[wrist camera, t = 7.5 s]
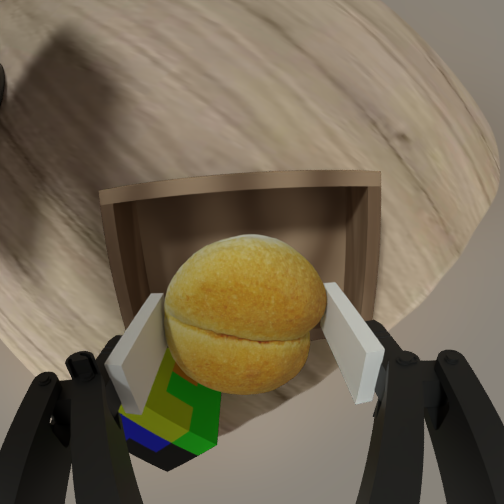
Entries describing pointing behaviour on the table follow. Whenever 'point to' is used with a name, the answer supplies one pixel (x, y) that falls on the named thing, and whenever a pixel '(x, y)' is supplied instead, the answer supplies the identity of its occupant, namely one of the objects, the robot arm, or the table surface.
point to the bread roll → (243, 314)
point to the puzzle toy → (173, 419)
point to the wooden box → (245, 227)
